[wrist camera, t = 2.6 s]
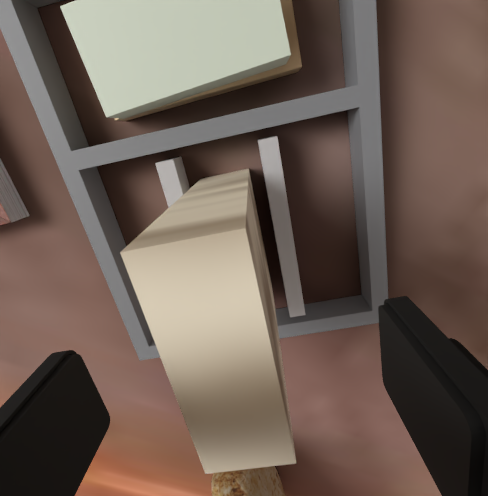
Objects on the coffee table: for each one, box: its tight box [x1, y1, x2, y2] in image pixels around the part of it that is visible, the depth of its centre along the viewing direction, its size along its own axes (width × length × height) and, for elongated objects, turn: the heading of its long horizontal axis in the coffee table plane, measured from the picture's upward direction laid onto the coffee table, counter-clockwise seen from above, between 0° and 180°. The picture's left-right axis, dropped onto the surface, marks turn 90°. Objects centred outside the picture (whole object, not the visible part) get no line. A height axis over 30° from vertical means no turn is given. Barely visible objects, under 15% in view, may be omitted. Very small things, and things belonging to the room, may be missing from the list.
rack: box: [0, 0, 388, 360], centre depth 17 cm, size 22×17×2 cm
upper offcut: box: [60, 0, 291, 119], centre depth 13 cm, size 4×9×2 cm, turn 106°
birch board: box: [120, 169, 296, 474], centre depth 14 cm, size 8×3×12 cm, turn 12°
